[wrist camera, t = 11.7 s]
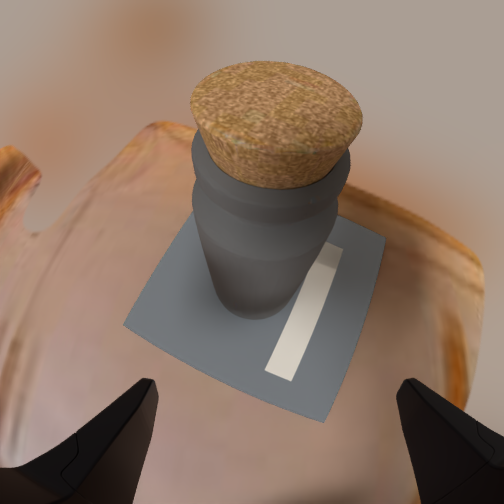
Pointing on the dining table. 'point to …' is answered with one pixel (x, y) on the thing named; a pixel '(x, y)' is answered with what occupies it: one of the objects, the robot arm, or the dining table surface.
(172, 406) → the dining table surface
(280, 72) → the bottle
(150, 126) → the dining table surface
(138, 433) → the robot arm
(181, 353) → the pad
